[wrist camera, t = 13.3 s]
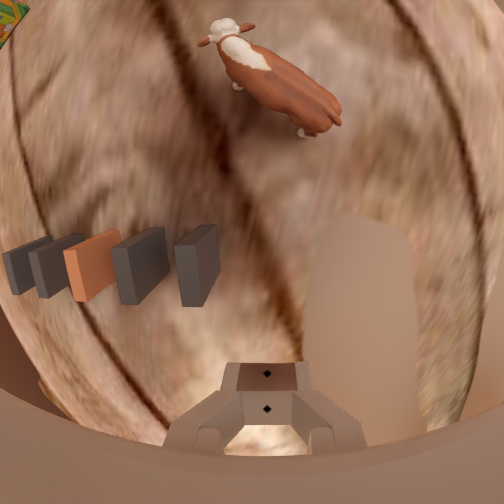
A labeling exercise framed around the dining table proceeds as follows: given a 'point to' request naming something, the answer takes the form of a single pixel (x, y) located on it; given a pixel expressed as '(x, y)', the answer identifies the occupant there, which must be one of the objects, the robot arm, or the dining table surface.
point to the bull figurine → (273, 80)
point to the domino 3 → (91, 265)
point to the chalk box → (10, 16)
